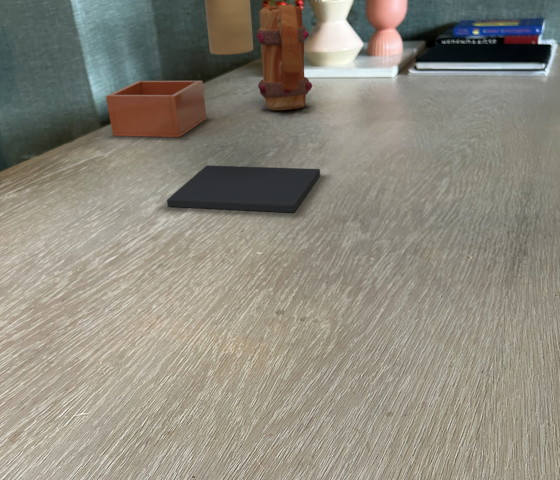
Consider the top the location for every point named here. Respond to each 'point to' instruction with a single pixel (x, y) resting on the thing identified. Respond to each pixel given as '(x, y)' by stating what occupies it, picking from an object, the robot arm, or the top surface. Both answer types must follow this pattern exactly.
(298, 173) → the mat
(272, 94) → the mug
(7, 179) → the top surface
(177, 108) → the terracotta open box
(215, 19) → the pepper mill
